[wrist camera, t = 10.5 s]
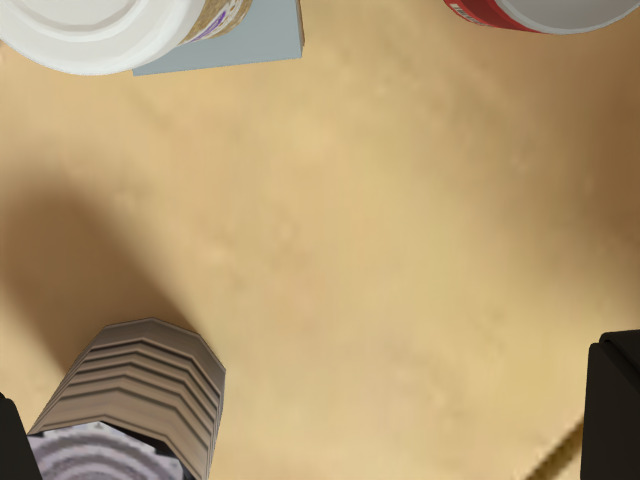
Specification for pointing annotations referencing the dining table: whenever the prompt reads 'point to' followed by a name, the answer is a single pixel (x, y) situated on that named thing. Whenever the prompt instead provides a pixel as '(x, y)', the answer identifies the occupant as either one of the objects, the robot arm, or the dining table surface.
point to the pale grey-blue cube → (240, 42)
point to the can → (134, 408)
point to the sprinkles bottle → (111, 30)
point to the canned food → (544, 14)
